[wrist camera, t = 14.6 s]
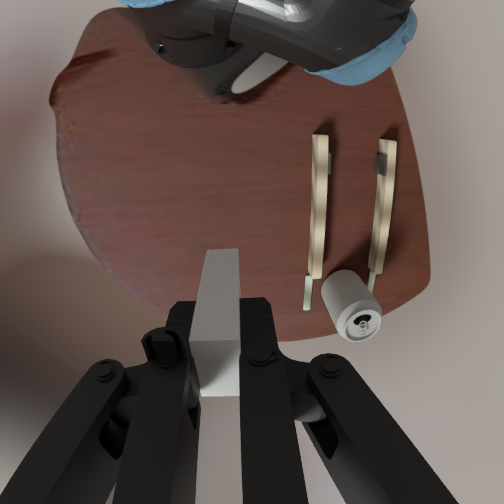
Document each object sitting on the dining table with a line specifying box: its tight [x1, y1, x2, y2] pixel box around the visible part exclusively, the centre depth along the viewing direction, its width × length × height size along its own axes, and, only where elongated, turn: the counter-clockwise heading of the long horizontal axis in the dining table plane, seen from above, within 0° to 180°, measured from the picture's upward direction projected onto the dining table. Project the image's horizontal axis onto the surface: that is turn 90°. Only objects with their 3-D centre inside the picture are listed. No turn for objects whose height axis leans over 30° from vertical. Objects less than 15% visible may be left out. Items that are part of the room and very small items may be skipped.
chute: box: [303, 134, 397, 310], centre depth 44 cm, size 30×13×3 cm, turn 2°
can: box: [321, 270, 382, 342], centre depth 45 cm, size 8×8×12 cm
